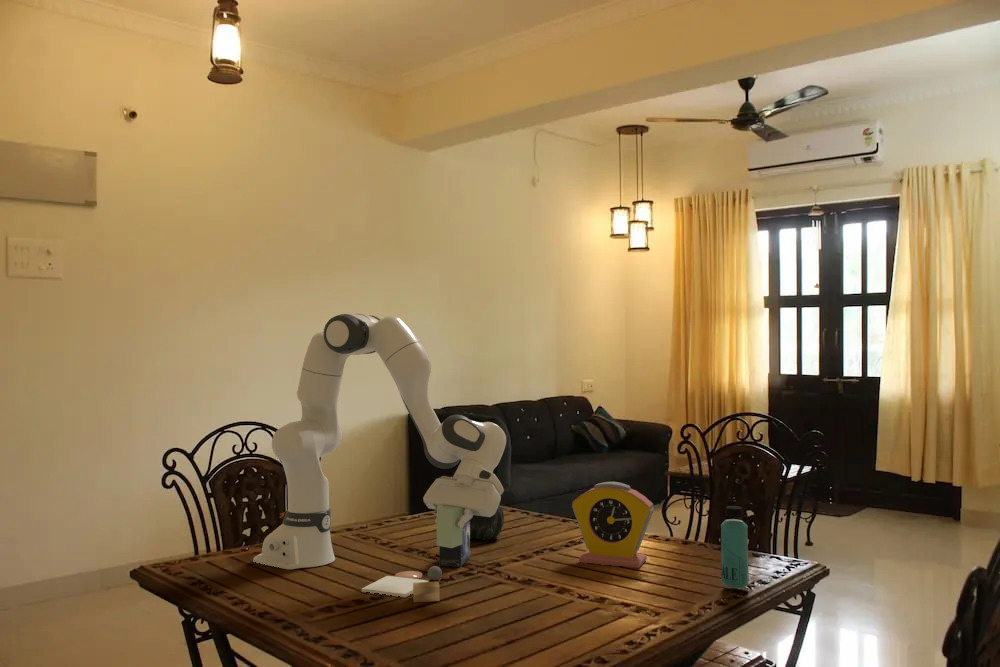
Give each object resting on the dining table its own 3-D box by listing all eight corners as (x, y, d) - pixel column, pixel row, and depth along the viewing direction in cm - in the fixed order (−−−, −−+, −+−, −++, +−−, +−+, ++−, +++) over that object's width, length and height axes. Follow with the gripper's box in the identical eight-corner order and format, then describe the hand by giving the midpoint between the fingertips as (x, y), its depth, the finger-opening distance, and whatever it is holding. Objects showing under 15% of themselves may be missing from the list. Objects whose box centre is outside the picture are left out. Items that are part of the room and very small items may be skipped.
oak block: (413, 602, 189) (413, 587, 189) (413, 597, 193) (413, 582, 193) (439, 601, 190) (439, 586, 190) (438, 596, 194) (438, 581, 194)
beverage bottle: (749, 587, 198) (748, 504, 199) (748, 595, 192) (747, 509, 192) (722, 585, 201) (721, 503, 201) (720, 592, 194) (719, 508, 195)
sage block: (436, 545, 198) (436, 508, 199) (447, 541, 202) (447, 505, 202) (451, 548, 196) (451, 510, 196) (462, 544, 200) (462, 507, 200)
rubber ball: (425, 581, 205) (424, 567, 205) (431, 578, 209) (431, 563, 209) (437, 583, 204) (437, 568, 204) (444, 579, 207) (444, 565, 207)
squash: (454, 514, 261) (457, 484, 251) (500, 515, 262) (505, 485, 253) (454, 552, 250) (458, 522, 240) (503, 553, 252) (508, 523, 242)
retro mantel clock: (569, 562, 223) (568, 483, 224) (578, 554, 232) (578, 477, 232) (649, 569, 215) (648, 487, 215) (656, 561, 223) (655, 482, 224)
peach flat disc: (389, 580, 208) (389, 577, 208) (403, 573, 215) (403, 570, 215) (414, 582, 206) (414, 579, 206) (427, 575, 212) (427, 572, 212)
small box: (461, 568, 218) (461, 528, 218) (438, 566, 219) (438, 527, 220) (471, 557, 228) (471, 520, 229) (448, 556, 230) (448, 519, 230)
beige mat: (361, 591, 197) (361, 588, 197) (387, 578, 208) (387, 575, 208) (405, 597, 192) (405, 594, 192) (429, 583, 203) (429, 580, 203)
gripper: (433, 467, 211) (408, 512, 202) (500, 475, 200) (477, 522, 191) (443, 482, 215) (420, 527, 206) (509, 490, 203) (487, 538, 195)
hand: (448, 525), depth 199 cm, fingers closed on sage block, 4 cm apart
